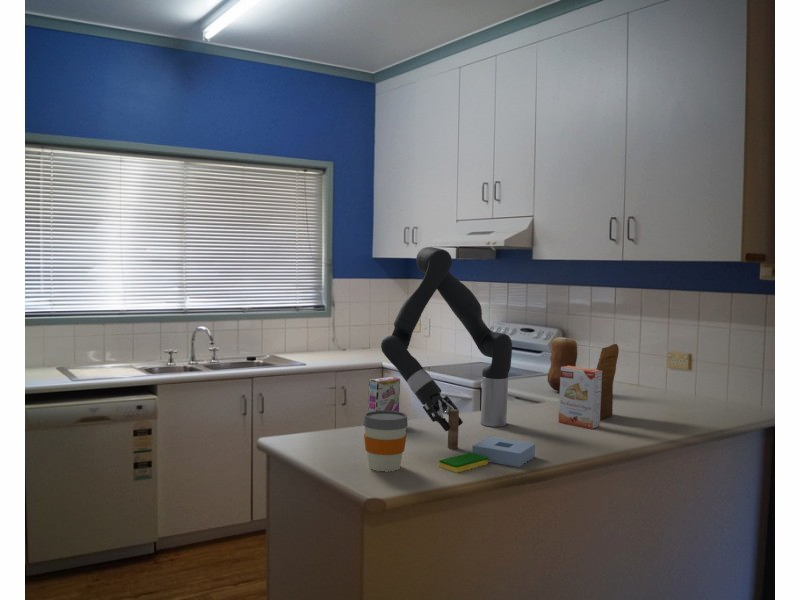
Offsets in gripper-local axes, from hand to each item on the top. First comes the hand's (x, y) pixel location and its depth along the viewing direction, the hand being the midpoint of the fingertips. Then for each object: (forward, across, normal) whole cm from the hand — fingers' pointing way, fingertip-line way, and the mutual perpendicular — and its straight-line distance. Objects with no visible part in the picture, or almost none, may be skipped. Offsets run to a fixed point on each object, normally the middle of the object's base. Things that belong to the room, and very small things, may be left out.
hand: (454, 427), depth 228 cm
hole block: (+17, -1, -7) cm, 18 cm away
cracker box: (+21, +56, -12) cm, 61 cm away
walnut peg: (+4, 0, +5) cm, 7 cm away
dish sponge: (+13, -15, -2) cm, 20 cm away
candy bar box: (-20, +14, +29) cm, 38 cm away
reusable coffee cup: (0, -30, +10) cm, 32 cm away
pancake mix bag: (+24, +74, -14) cm, 79 cm away
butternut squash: (+4, +115, +6) cm, 116 cm away
